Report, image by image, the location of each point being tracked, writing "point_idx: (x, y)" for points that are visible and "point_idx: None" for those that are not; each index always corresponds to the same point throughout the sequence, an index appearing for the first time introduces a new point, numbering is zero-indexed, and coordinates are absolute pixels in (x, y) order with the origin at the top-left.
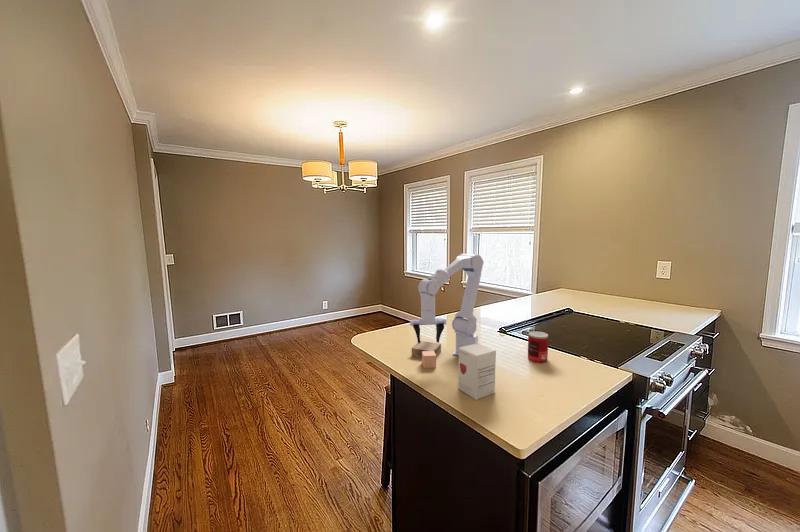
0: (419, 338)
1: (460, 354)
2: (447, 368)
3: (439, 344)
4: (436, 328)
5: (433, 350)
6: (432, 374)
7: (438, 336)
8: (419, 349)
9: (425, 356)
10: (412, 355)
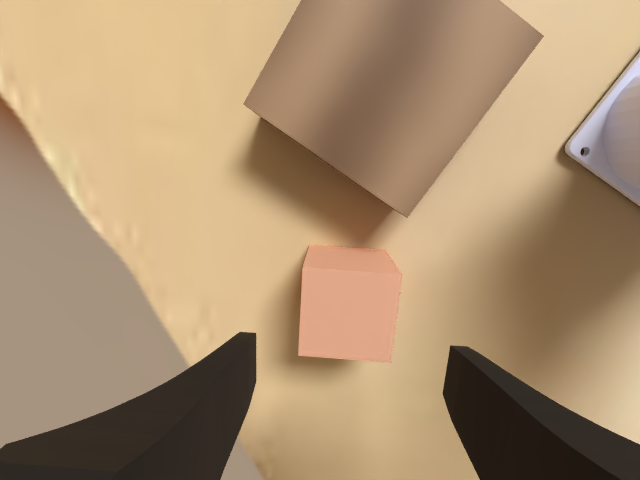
0: (229, 441)
1: None
2: (435, 343)
3: (522, 51)
4: (567, 467)
5: (415, 195)
6: (334, 392)
7: (487, 476)
8: (306, 147)
9: (311, 354)
10: (264, 119)
